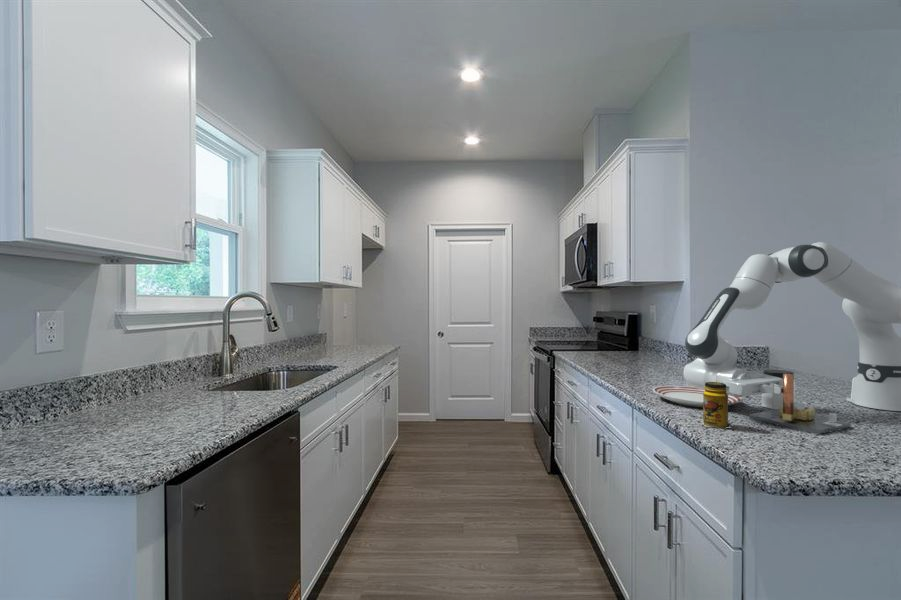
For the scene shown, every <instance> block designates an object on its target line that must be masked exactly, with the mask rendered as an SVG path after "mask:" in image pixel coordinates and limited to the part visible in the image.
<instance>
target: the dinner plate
mask: <svg viewBox="0 0 901 600" xmlns="http://www.w3.org/2000/svg"><path fill="white" fill-rule="evenodd" d="M652 391H653V392H654V394H655V395H657V396H659V397H661V398H663V399H666V400H668V402H669V401H670V402H671V403H674V404H679V405H682V406H687V407H695V408H703V393H704V391H705V390H701V389H697V388H694V387H692V386H690V385H689V386H688V385H685V386H684V385H661V386H654V387H653V388H652ZM741 402H743V398H742V397H734V396H729V395H728V406H731V405H732V406H733V405H735V404H739V403H741Z"/></svg>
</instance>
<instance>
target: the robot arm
mask: <svg viewBox="0 0 901 600" xmlns="http://www.w3.org/2000/svg"><path fill="white" fill-rule="evenodd" d="M811 277H814V278H815V279H816V280H817V281H819V283H821V284H823V285H824V286H825V287H826V288H827V289H829V290H831V292H833V293H834V294H835V295H837V297H841V298H843V300H842V303H841V307H842V311H843V314H845V315H846V316H847V317H848V318H849V319H850V320H851V322H852V324H853V327H854V329H855V332H856V335H857V338H858V346H859V349H858V351H859V353H858V354H859V355H858V356H859V361H858V363H857V366H856V369H857V373H858V374H857V375H856V376H854V377H853V378H852V380H851V381H852V382H851V393H850V396H849V397H846V399H845V400H846V401H847V402H850V403H852V404H854V405H857V406H860V407H864V408H871V409H875V410H877V409H878V410H882V411H883V410H884V411H890V412H891V411H893V412H901V336H899V335H898V334H897V333H896V331H895V329H894V326H893V324H899V325H901V286H900V285H897V284H895V283H893V282H891V281H889V280H887V279H884V278H882V277H881V276H878V275H876V274H875V273H873V272H871V271H869V270H868V269H867V268H866V267H864V266H862V265H861V264H860V263H859V262H857V261H856V260H855V259H853V258H852V257H851V256H849V254H847V253H845V252H844V251H842V250H840V249H839V248H838V247H835V246H833V245H832V244H830V243H828V242H823V241H817V242H813V243H812V244H800V245H797V246H791V247H786V248H783V249H781V250H778V251H776V252H772V253H769V254H763V253H757V254H752V255H750V256H749V257H748V258H747V259H746V260H745V261H744V263H743V264H742V266H741V267H740V269H738V271H737V273H736V275H735V276H734V279H733V281H732V282H731V284H730V285H729V286H728V287H725V288H724V289H722V290H721V291H720V292H719V293H718V294H717V296H716V297H715V299H714V300H713V301H712V303H711V304H710V306H709V307H708V309H707V310H706V311H705V313H704V314H703V316H702V317H701V318H700V320H699V321H698V323H697V324H696V325H694V327H693V328H692V329H691V330H690V331H689V332H688V333H687V335H686V338H685V341H684V345H685V349H686V351H687V353H689V354H690V355H692V356H694V357H695V359H694V360H692V361H691V362H688V363H687V364H686V365H685V366H684V367H683V378H684V380H685V382H686V383H687V384H688V385H689V387H694V388H697V389H701V390H705V383H706V382H719V383H724V384H726V390H727V391H726V393H727V394H728V395H729V396H734V397H741V398H742V397H748V396H749V397H750V396H755V395H760V394H761V395H762V394H763V393H777V394H781V393H783V379H782V378H779V377H775V376H770V375H766V374H763V373H760V372H757V371H756V370H754V369H753V370H750V369H744V368H739V367H736V365H737V362H738V358H739V352H738V350H737V348H736V347H735V346H734V345H732V344H731V343H730V342H729V341H728V340H726V339H724V338H723V337H722V336H721V335H720V328H721V326H723V324H724V322H725V321H726V320H727V318H728V316H729V315H730V314H731V313H732V311H733V310H735V309H736V310H737V309H739V310H743V311H744V310H745V311H750V310H751V311H752V310H755V309H758V308H760V307H762V306H763V305H764V303H765V302H766V301H767V300H768V298H769V296H770V293H771V291H772V289H773V287H774V285H775V283H776V284H778V283H779V284H780V283H783V282H784V283H785V282H787V283H788V282H794V281H798V280H801V279H805V278H811Z"/></svg>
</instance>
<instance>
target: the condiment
mask: <svg viewBox="0 0 901 600" xmlns="http://www.w3.org/2000/svg"><path fill="white" fill-rule="evenodd" d="M726 391H727V390H726V384H724V383H719V382H706V383H705V391H704V393H703V407H702V409H703V411H702V412H703V414H702V417H703V418H702V419H701V418H700V425H702V424H703V423H704V425H706V426H703V427H706V428H711V427H715V428H714V429H721V428H725V429H724V430H727V429H726V427H729V426H731V428H732V425H731V422H730V421H729V405H728V394H727V393H726ZM708 426H709V427H708ZM732 429H733V428H732ZM721 430H722V429H721Z"/></svg>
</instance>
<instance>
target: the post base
mask: <svg viewBox="0 0 901 600" xmlns="http://www.w3.org/2000/svg"><path fill="white" fill-rule="evenodd" d="M805 406H806V405H805V404H804V403H800V402H795V403H794V409H799V410H805ZM837 417H838V414H837V413H831V412H829V413H828V417H823V416H818V415H815V418H813V419H812V420H801V419H793V420H792V421H789V420H784V419H782V416H781V415H779V409H776V410H774V409H770V410H764V411H761V412H754V413H749V414H748V419H750V418H751V420H754V419H755V421H758V420H760V422H763V421H764V422H763V423H767V422H769V423H768V424H771V423H773V424H772V425H775V424H778V425H777V426H780V425H783V426H782V427H784V426H787V427H786V428H788V427H791V428H790V429H793V428H795V429H794V430H797V429H799V430H798V431H801V430H804V431H803V432H805V431H808V432H807V433H810V432H812V433H811V434H814V433H817V434H816V435H818V434H821V435H823V434H822V433H825V434H827V433H826V432H829V433H831V432H830V431H833V432H836V431H835V430H837V431H840V430H839V429H842V430H845V429H844V428H846V429H849V428H848V427H850V428H851V424H852V423H851V422H847V421H843V420H838V418H837Z"/></svg>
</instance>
